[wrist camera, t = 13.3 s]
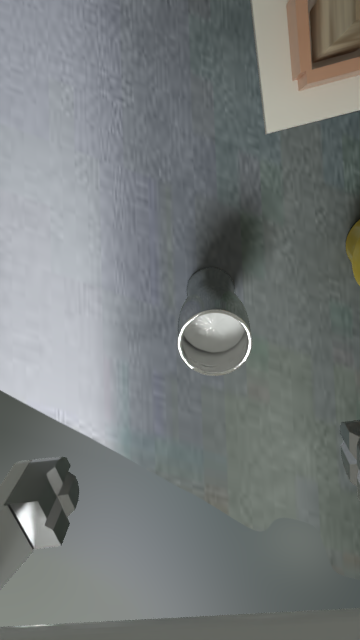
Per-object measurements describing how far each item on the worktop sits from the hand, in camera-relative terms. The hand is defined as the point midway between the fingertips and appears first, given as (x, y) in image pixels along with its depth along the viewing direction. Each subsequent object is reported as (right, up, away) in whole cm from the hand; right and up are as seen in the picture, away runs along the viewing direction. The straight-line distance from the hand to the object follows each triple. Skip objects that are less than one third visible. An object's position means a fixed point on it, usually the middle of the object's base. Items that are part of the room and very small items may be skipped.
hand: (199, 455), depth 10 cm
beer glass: (+3, +8, +34) cm, 35 cm away
